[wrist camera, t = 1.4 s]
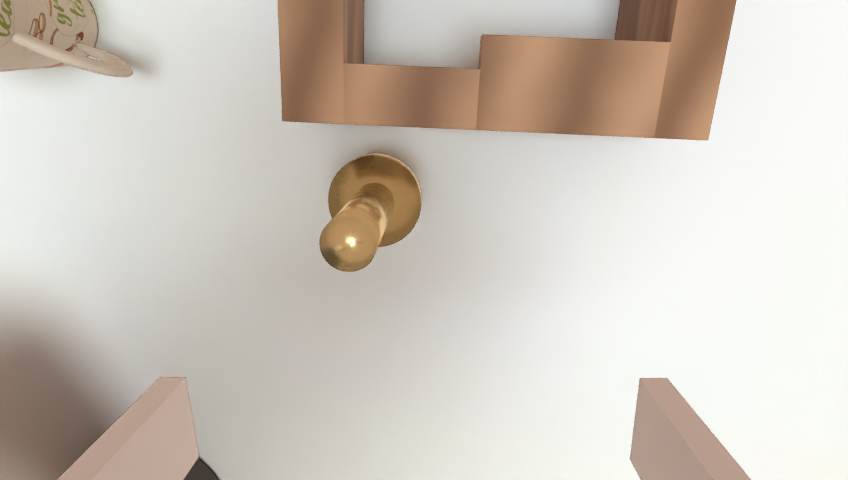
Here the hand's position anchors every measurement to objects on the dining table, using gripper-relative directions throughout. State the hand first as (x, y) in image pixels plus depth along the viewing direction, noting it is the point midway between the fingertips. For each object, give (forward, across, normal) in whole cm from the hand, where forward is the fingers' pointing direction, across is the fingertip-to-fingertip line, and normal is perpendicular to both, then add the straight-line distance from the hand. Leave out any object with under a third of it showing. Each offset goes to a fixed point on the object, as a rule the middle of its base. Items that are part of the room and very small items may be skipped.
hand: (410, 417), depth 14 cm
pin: (+25, -3, +3) cm, 25 cm away
